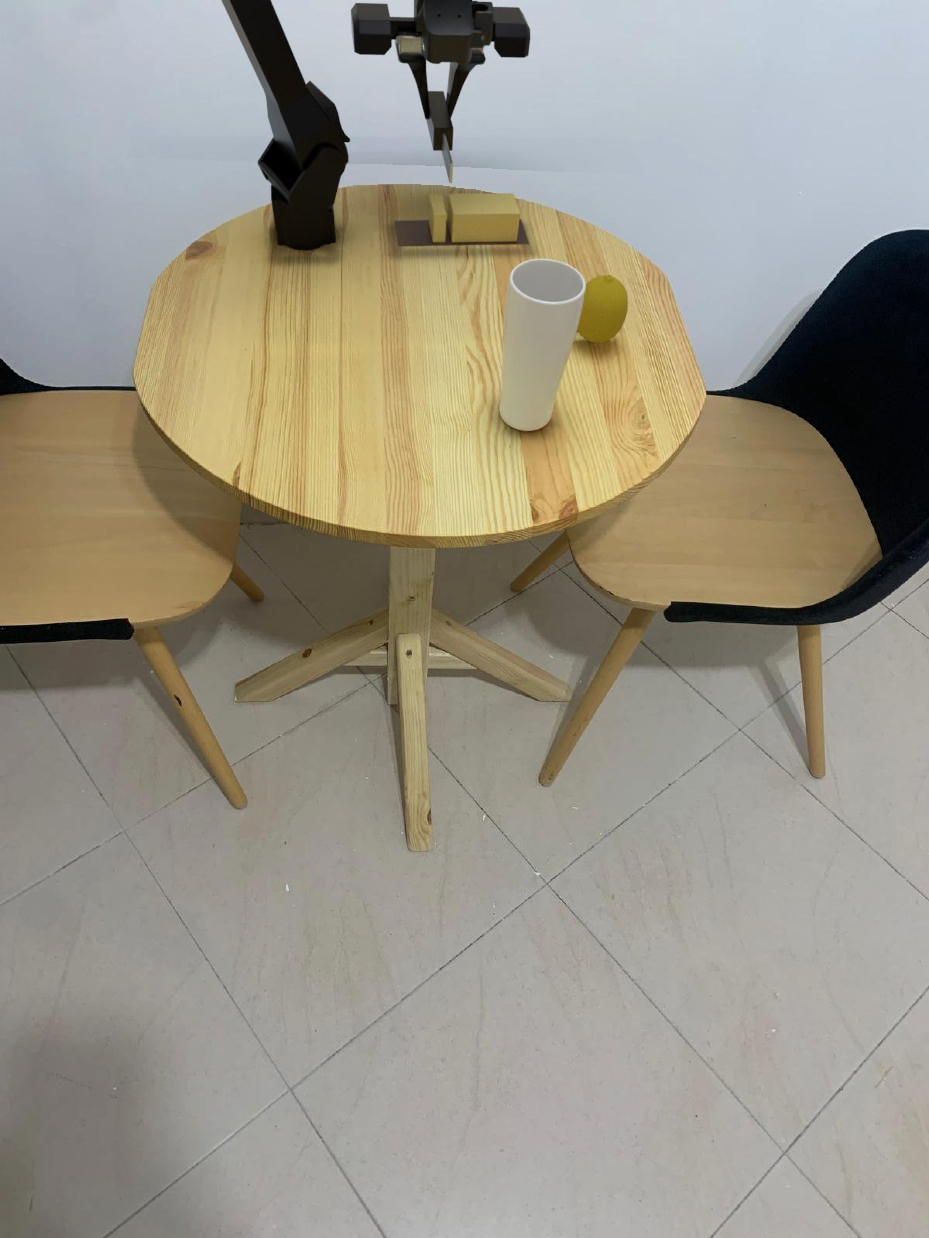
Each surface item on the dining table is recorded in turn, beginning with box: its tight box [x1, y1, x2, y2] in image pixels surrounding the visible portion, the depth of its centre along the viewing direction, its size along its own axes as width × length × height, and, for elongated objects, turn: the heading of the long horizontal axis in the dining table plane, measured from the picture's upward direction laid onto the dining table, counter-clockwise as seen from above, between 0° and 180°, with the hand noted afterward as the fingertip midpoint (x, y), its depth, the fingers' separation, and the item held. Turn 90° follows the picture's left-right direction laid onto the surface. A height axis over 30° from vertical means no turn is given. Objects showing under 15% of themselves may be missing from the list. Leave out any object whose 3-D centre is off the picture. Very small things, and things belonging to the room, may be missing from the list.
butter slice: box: [428, 193, 447, 243], centre depth 92 cm, size 2×4×4 cm, turn 8°
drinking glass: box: [498, 258, 587, 432], centre depth 72 cm, size 7×7×15 cm
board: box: [393, 218, 530, 247], centre depth 95 cm, size 16×6×1 cm, turn 98°
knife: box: [425, 90, 454, 184], centre depth 87 cm, size 2×16×2 cm, turn 8°
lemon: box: [577, 274, 629, 344], centre depth 82 cm, size 6×6×8 cm
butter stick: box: [446, 192, 521, 242], centre depth 93 cm, size 8×4×4 cm, turn 98°
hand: (437, 118), depth 90 cm, fingers closed on knife, 2 cm apart
